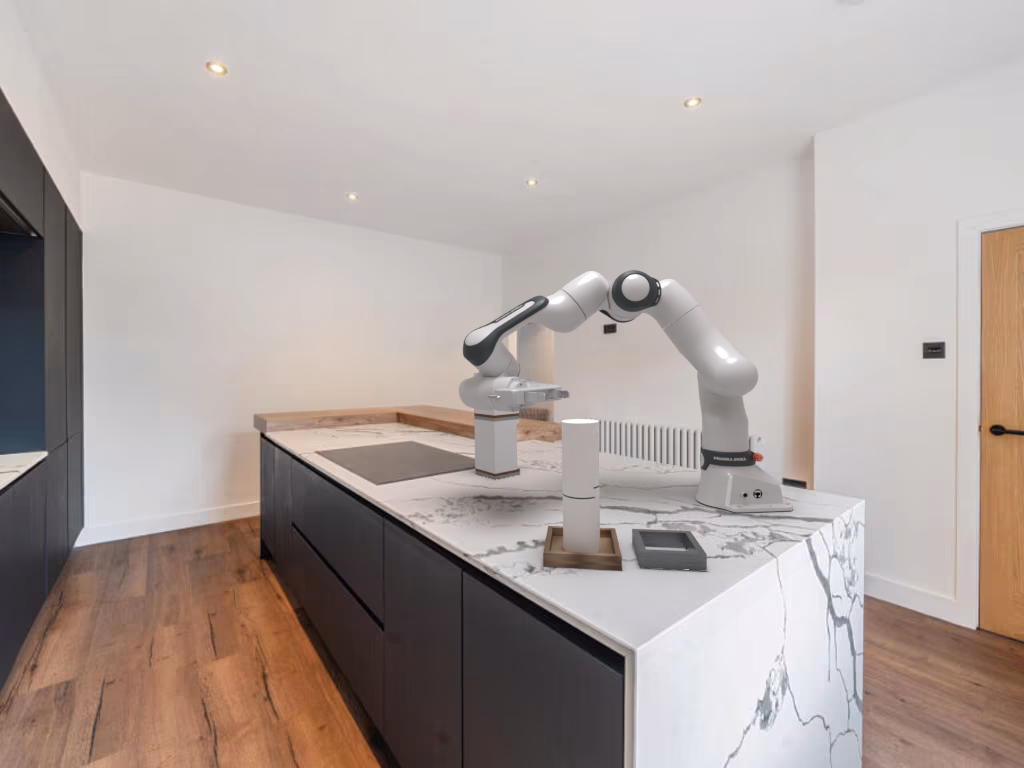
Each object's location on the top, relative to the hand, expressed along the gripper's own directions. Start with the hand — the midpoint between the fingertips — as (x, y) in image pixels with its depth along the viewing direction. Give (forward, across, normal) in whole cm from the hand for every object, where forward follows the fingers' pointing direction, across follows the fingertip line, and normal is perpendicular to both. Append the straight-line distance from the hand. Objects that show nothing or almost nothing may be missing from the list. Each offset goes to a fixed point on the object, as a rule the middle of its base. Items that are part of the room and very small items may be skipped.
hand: (557, 395), depth 103 cm
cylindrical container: (+13, -12, +29) cm, 34 cm away
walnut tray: (+13, -12, +30) cm, 34 cm away
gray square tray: (+26, -4, +30) cm, 40 cm away
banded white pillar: (-43, +28, +30) cm, 59 cm away
